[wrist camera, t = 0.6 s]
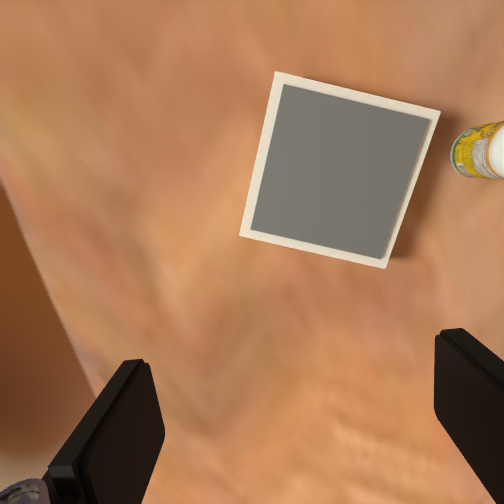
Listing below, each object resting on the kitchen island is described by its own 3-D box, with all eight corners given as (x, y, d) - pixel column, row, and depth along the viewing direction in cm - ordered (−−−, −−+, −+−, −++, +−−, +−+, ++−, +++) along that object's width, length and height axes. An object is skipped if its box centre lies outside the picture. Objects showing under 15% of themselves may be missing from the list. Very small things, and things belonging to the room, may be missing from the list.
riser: (273, 83, 34) (275, 69, 29) (418, 118, 35) (443, 110, 30) (241, 227, 38) (238, 236, 34) (371, 257, 39) (386, 270, 34)
